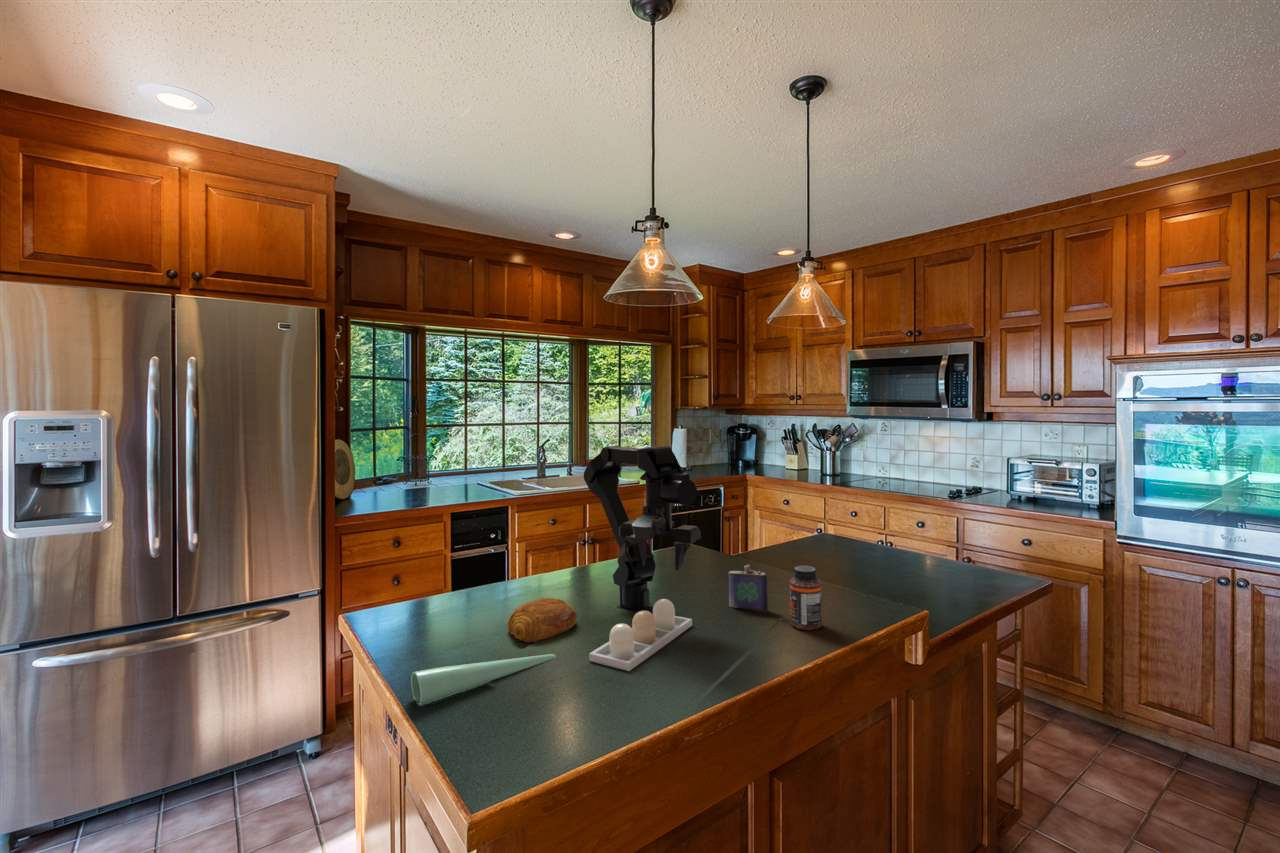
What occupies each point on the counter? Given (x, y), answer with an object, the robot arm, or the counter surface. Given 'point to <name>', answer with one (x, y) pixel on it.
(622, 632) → the cream egg
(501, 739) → the counter surface
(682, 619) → the egg carton
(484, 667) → the long green cone
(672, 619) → the cream egg
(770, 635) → the counter surface
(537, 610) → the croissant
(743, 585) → the flask
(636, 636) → the tan egg
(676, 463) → the robot arm
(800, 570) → the supplement bottle
